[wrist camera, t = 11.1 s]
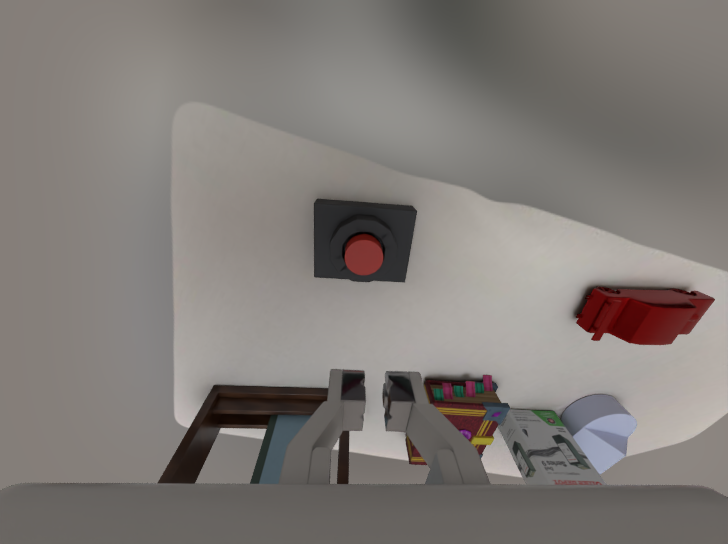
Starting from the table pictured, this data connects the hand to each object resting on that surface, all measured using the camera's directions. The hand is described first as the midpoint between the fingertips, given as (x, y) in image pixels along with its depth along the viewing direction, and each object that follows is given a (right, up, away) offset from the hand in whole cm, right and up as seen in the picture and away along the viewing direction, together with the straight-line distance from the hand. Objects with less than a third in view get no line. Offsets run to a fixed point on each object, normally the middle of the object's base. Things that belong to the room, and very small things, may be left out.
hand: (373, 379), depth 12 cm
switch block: (-1, +9, +17) cm, 19 cm away
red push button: (0, +7, +14) cm, 15 cm away
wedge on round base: (+37, -20, +33) cm, 54 cm away
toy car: (+34, +1, +22) cm, 41 cm away
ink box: (+27, -20, +32) cm, 47 cm away
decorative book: (+13, -17, +31) cm, 38 cm away
